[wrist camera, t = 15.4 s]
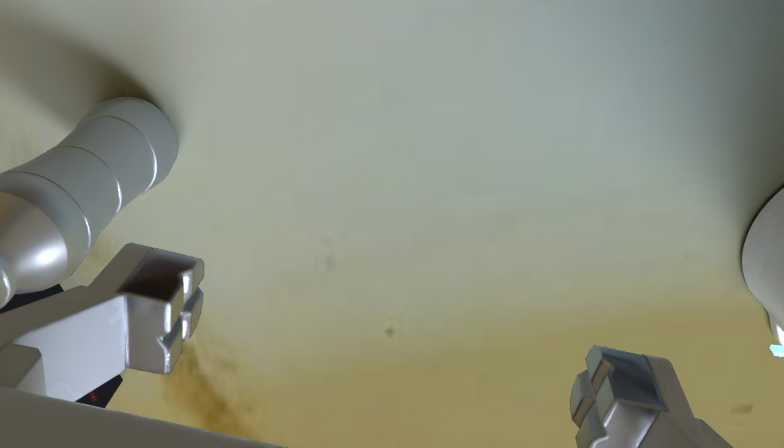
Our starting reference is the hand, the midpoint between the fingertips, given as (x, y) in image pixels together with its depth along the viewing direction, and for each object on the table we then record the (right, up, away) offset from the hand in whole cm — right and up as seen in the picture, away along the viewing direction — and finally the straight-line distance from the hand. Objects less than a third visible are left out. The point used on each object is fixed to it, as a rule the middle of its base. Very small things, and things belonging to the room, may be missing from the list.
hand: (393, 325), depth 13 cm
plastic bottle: (-18, +9, +33) cm, 38 cm away
